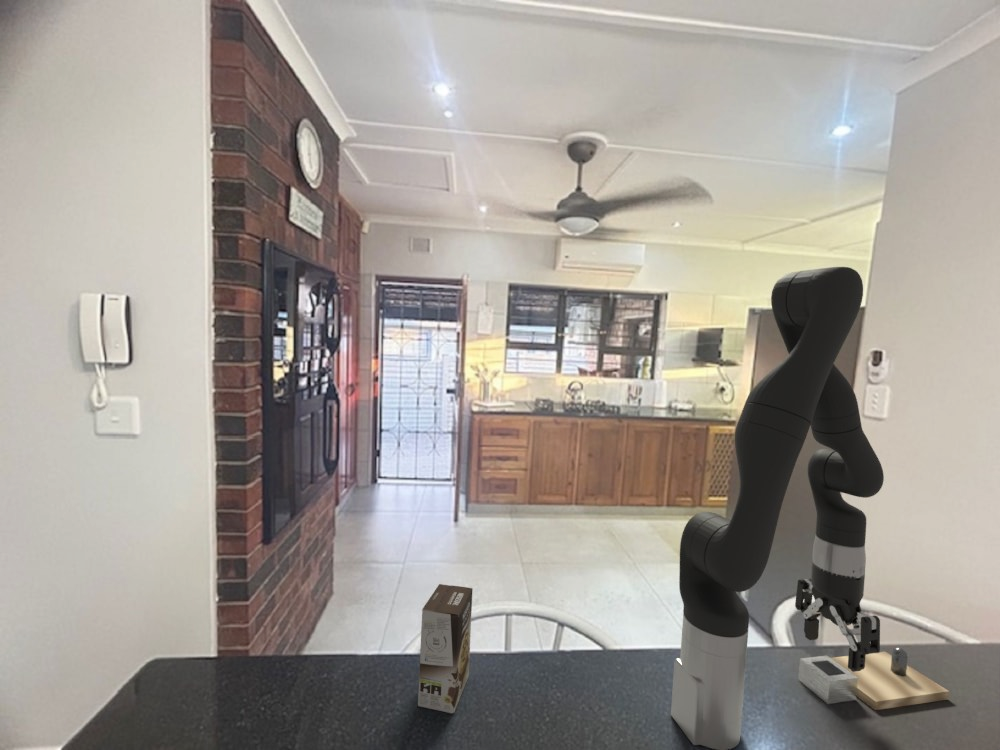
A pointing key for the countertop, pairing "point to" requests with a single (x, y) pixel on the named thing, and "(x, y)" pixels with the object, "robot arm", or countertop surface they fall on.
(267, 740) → the countertop surface
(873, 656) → the plate
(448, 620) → the coffee box
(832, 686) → the steel link
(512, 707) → the countertop surface
